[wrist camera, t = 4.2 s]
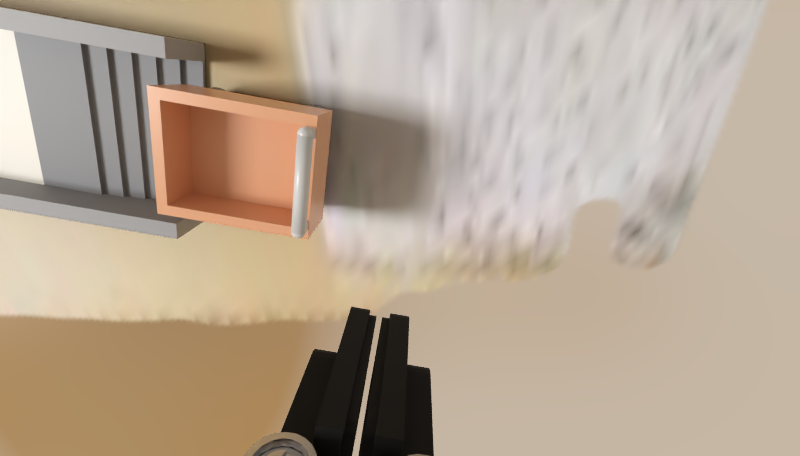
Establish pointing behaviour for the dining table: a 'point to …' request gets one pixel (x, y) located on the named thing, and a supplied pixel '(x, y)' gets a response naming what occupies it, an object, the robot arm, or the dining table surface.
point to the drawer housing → (85, 119)
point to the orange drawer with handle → (239, 159)
